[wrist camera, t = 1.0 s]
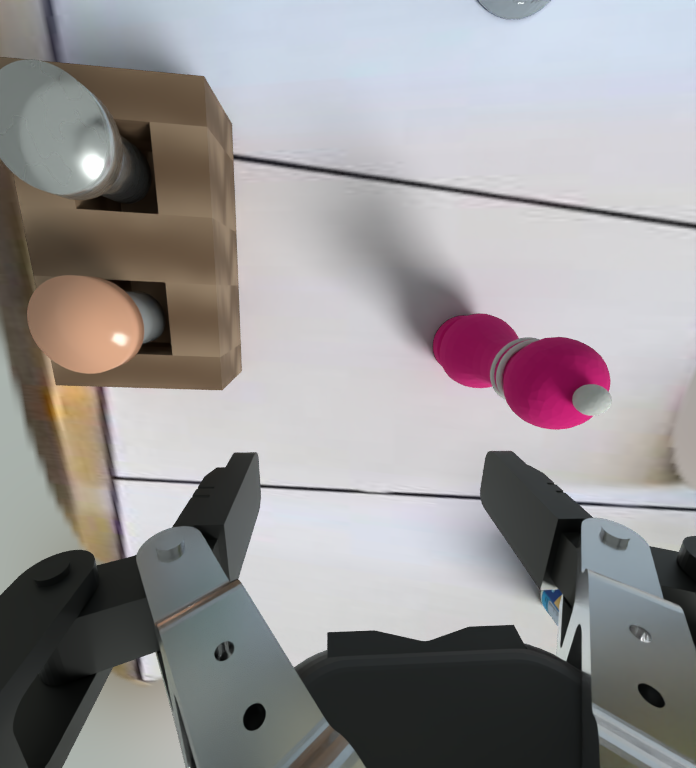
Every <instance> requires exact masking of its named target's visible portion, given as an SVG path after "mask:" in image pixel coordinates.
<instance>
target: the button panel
mask: <svg viewBox="0 0 696 768" xmlns="http://www.w3.org/2000/svg"><path fill="white" fill-rule="evenodd" d="M19 60H28V59H17V58H7V57H0V69H1V68H3V67H4V66H6V65H8V64H10V63H12V62H15V61H19ZM43 62H47V63H50V64H52V65H55V66H57V67H59V68H61V69H62V70H64V71H65V72H67V73H68V74H70V75H71V76H72V77H74V78H75V79H76V80H77V81H78V82H80V83H81V84H82V85H83V86H84V87H86V88H87V89H88V90H89V91H91V92H92V93H93V94H94V95H95V96H96V97H97V98H98V99H99V100H100V101H101V102H102V103H103V104H104V105H105V106H106V108H107V109H108V111H109V112H110V114H111V115H112V117H113V119H114V121H115V123H116V125H117V127H118V130H119V133H120V135H121V136H123V137H124V138H125V139H127V140H128V141H129V142H131V143H132V144H133V145H135V146H136V147H137V148H138V149H139V150H140V151H141V152H142V153H143V154H144V156H145V157H146V159H147V161H148V163H149V166H150V170H151V185H150V188H149V191H148V193H147V194H146V195H145V197H144V198H142V199H141V200H140V201H138V202H135V203H131V204H124V203H119V202H116V201H114V200H111V199H109V198H106V197H104V196H101V195H100V196H98V197H96V198H93V199H88V200H72V199H67V198H63V197H60V196H57V195H54V194H51V193H49V192H46V191H43V190H40V189H38V188H35V187H33V186H31V185H29V184H27V183H26V182H24V181H23V180H21V179H20V178H19V177H17V176H16V175H15V174H14V173H13V176H14V181H15V186H16V191H17V196H18V201H19V206H20V211H21V216H22V221H23V225H24V230H25V235H26V240H27V245H28V250H29V255H30V260H31V265H32V270H33V274H34V279H35V284H36V289H37V288H38V287H39V286H40V285H41V284H42V283H44V282H45V281H47V280H49V279H51V278H54V277H57V276H63V275H77V276H93V277H98V278H102V279H105V280H108V281H110V282H112V283H114V284H116V285H117V286H119V287H120V288H121V289H123V290H124V291H142V292H145V293H147V294H149V295H151V296H153V297H154V298H155V299H156V300H157V301H158V302H159V303H160V304H161V306H162V308H163V310H164V312H165V316H166V326H165V329H164V331H163V333H162V334H161V335H160V336H159V337H158V338H157V339H155V340H153V341H151V342H147V343H144V344H142V346H141V348H140V350H139V351H138V353H137V354H136V355H135V357H134V358H132V359H131V360H130V361H129V362H127V363H125V364H123V365H121V366H118V367H116V368H113V369H110V370H108V371H105V372H101V373H95V374H86V373H79V372H75V371H72V370H69V369H66V368H64V367H62V366H60V365H59V364H57V363H55V362H54V361H53V360H51V363H52V368H53V373H54V378H55V382H56V385H67V386H100V387H133V388H166V389H199V390H223V389H224V388H225V387H226V386H227V385H228V384H229V383H230V382H231V381H232V380H233V379H234V378H235V377H236V376H237V375H238V374H239V373H240V372H241V371H242V365H241V340H240V315H239V290H238V265H237V240H236V215H235V190H234V165H233V140H232V123H231V122H230V120H229V118H228V116H227V115H226V113H225V111H224V110H223V108H222V106H221V104H220V103H219V101H218V99H217V98H216V96H215V94H214V93H213V91H212V89H211V87H210V86H209V84H208V82H207V81H206V79H205V77H204V76H196V75H185V74H175V73H164V72H154V71H143V70H133V69H122V68H112V67H101V66H91V65H80V64H70V63H59V62H49V61H43Z"/></svg>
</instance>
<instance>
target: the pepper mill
mask: <svg viewBox="0 0 696 768" xmlns="http://www.w3.org/2000/svg"><path fill="white" fill-rule="evenodd" d="M433 352H434V355H435V358H436V360H437V361H438V362H439V364H440V365H441V366H442V367H443V368H444V370H445V372H446V373H447V374H448V376H449V377H450V378H452V379H453V380H454V381H456V382H458V383H460V384H462V385H464V386H468V387H472V388H486V387H492V386H493V388H494V390H495V392H496V393H497V394H498V395H499V396H501V397H502V398H503V399H505V400H506V401H507V403H508V405H509V406H510V408H511V409H512V411H513V412H514V413H515V414H516V415H518V416H519V417H520V418H521V419H523V420H524V421H526V422H528V423H530V424H532V425H535V426H538V427H541V428H546V429H567V428H571V427H574V426H577V425H579V424H582V423H584V422H586V421H587V420H589V419H590V418H591V417H593V416H596V415H600V414H603V413H604V412H606V411H607V410H608V409H609V408H610V406H611V401H612V399H611V395H610V393H609V389H610V375H609V371H608V368H607V365H606V363H605V362H604V360H603V359H602V357H601V356H600V355H599V354H598V353H597V352H596V351H595V350H594V349H592V348H591V347H589V346H588V345H586V344H584V343H581V342H579V341H577V340H573V339H569V338H563V337H554V338H544V339H541V340H539V339H536V338H530V337H529V338H520V339H519V338H518V336H517V334H516V333H515V331H514V330H513V329H512V328H511V327H510V326H509V325H508V324H507V323H506V322H504V321H503V320H501V319H499V318H497V317H494V316H492V315H488V314H472V315H468V316H464V315H462V316H456V317H453V318H451V319H449V320H447V321H446V322H445V323H444V324H443V325H441V327H440V328H439V329H438V331H437V333H436V335H435V337H434V341H433Z"/></svg>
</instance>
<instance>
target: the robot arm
mask: <svg viewBox="0 0 696 768" xmlns="http://www.w3.org/2000/svg"><path fill="white" fill-rule="evenodd" d="M478 1H479V2H480V3H481V4H482V5H483V6H484V7H485V8H486V9H487V10H488V11H489V12H491V13H492V14H494V15H496V16H498V17H501V18H505V19H522V18H525V17H528V16H531V15H533V14H534V13H536V12H538V11H540V10H541V9H542V8H543V7H544V6H545V5H547V4H548V3H549V2H550V1H551V0H478ZM480 496H481V501H482V505H483V507H484V509H485V510H486V512H487V513H488V514H489V516H490V517H491V519H492V520H493V522H494V523H495V525H496V526H497V528H498V529H499V530H500V532H501V533H502V535H503V536H504V538H505V539H506V541H507V542H508V544H509V545H510V546H511V548H512V549H513V551H514V552H515V554H516V555H517V557H518V558H519V560H520V561H521V562H522V564H523V565H524V567H525V568H526V570H527V571H528V573H529V574H530V576H531V577H532V579H533V580H534V581H535V583H536V584H537V586H538V587H539V589H540V590H556V589H559V590H560V591H561V593H562V597H561V600H560V605H559V619H558V634H557V649H556V656H555V655H554V654H551V653H549V652H547V651H545V650H542V649H540V648H537V647H534V646H531V645H528V644H524V643H523V641H522V640H521V638H520V636H519V634H518V632H517V630H516V628H515V627H514V625H501V626H476V627H467V628H464V629H461V630H459V631H456V632H453V633H450V634H447V635H444V636H441V637H439V638H436V639H433V640H430V641H419V640H414V639H410V638H406V637H401V636H397V635H392V634H388V633H383V632H379V631H350V632H328V640H327V650H326V651H323V652H320V653H318V654H316V655H314V656H312V657H310V658H308V659H306V660H304V661H303V662H301V663H300V664H298V665H297V666H296V667H293V666H292V664H291V663H290V661H289V659H288V658H287V656H286V654H285V653H284V651H283V649H282V648H281V646H280V645H279V643H278V641H277V640H276V638H275V636H274V635H273V633H272V632H271V630H270V628H269V627H268V625H267V623H266V622H265V620H264V619H263V617H262V615H261V614H260V612H259V610H258V609H257V607H256V606H255V604H254V602H253V601H252V599H251V597H250V596H249V594H248V593H247V591H246V589H245V588H244V586H243V585H242V583H241V582H240V581H239V580H238V578H239V574H240V571H241V568H242V565H243V561H244V558H245V555H246V552H247V548H248V545H249V542H250V539H251V535H252V532H253V529H254V526H255V522H256V519H257V516H258V512H259V508H260V500H261V489H260V474H259V459H258V454H257V453H256V452H250V453H234V454H233V455H232V457H231V459H230V460H229V462H228V464H227V466H226V467H222V468H216V469H214V470H213V471H212V472H210V473H209V474H207V475H206V476H205V477H204V478H203V480H202V482H201V483H200V485H199V486H198V489H196V491H195V493H194V494H193V497H192V498H191V499H190V500H189V502H188V503H187V505H186V507H185V508H184V510H183V511H182V513H181V514H180V516H179V518H178V519H177V521H176V522H175V524H174V525H173V527H172V528H169V529H166V530H164V531H161V532H159V533H157V534H156V535H154V536H152V537H151V538H150V539H148V540H147V541H146V542H145V543H144V544H143V545H142V546H141V548H140V549H139V551H138V553H137V555H135V556H132V557H128V558H125V559H121V560H117V561H113V562H109V563H105V564H101V565H97V566H96V562H95V558H94V556H93V554H92V553H90V552H88V551H85V550H72V551H66V552H62V553H59V554H56V555H53V556H51V557H48V558H46V559H44V560H42V561H40V562H39V563H37V564H35V565H33V566H32V567H31V568H29V569H27V570H26V571H25V572H24V573H23V574H21V575H20V576H19V577H18V578H17V579H16V580H15V581H14V582H13V583H12V584H11V585H10V586H9V587H8V588H7V589H6V590H5V591H4V592H3V593H2V594H1V595H0V768H62V766H63V765H64V763H65V761H66V759H67V757H68V755H69V753H70V751H71V749H72V747H73V745H74V743H75V741H76V739H77V737H78V735H79V733H80V731H81V729H82V727H83V725H84V723H85V721H86V719H87V717H88V715H89V713H90V711H91V709H92V707H93V705H94V704H95V701H96V700H97V698H98V696H99V694H100V692H101V690H102V688H103V686H104V684H105V682H106V679H107V678H108V676H109V674H110V672H111V670H112V668H113V667H114V666H117V665H120V664H123V663H126V662H128V661H131V660H134V659H137V658H140V657H142V656H145V655H148V654H151V653H154V652H156V656H157V660H158V663H159V667H160V671H161V674H162V678H163V682H164V685H165V689H166V693H167V696H168V700H169V704H170V707H171V711H172V715H173V718H174V722H175V726H176V730H177V734H178V738H179V742H180V746H181V750H182V755H183V759H184V763H185V767H186V768H696V536H690V537H687V538H685V539H684V540H683V543H682V545H681V548H680V551H679V552H676V551H671V550H666V549H661V548H656V547H651V546H649V545H648V543H647V542H646V541H645V540H644V539H643V538H642V537H641V536H640V535H639V534H637V533H636V532H634V531H633V530H631V529H629V528H627V527H626V526H624V525H621V524H619V523H616V522H614V521H610V520H607V519H602V518H593V517H592V516H591V515H590V514H588V513H587V512H586V511H585V510H584V509H583V508H582V507H581V506H580V505H578V504H577V503H576V502H575V501H574V500H573V499H572V498H571V497H569V496H568V495H567V494H566V493H563V490H562V489H560V488H559V487H558V486H557V485H554V482H553V481H551V480H550V479H549V478H548V477H547V476H546V475H545V474H544V473H542V472H540V471H538V470H537V469H535V468H533V467H531V466H529V465H527V464H526V463H525V462H523V461H522V460H521V459H520V458H519V457H518V456H517V455H516V454H515V453H514V452H512V451H489V452H488V453H487V455H486V458H485V463H484V470H483V476H482V482H481V488H480Z"/></svg>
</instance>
